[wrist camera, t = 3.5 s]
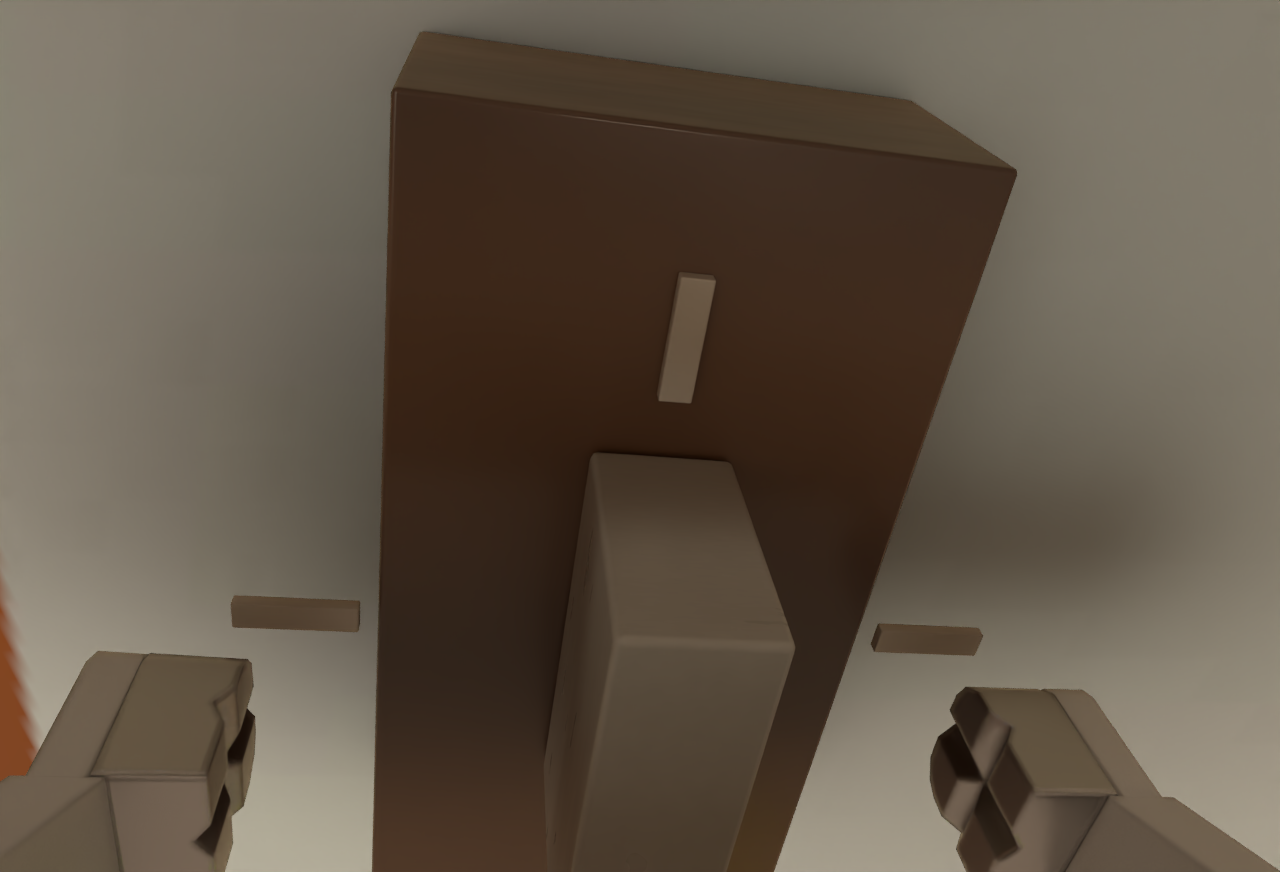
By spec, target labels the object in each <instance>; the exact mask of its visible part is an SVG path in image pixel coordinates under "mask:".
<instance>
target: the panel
mask: <svg viewBox="0 0 1280 872" xmlns="http://www.w3.org/2000/svg"><path fill="white" fill-rule="evenodd" d="M1016 176H1017V170H1016V169H1014V168H1013V167H1011V166H1010V165H1008V164H1007V163H1005V162H1004V161H1002V160H1001V159H999V158H998V157H996V156H995V155H993V154H992V153H990V152H989V151H987V150H986V149H984V148H982V147H981V146H979V145H978V144H976V143H975V142H973V141H972V140H970V139H969V138H967V137H966V136H964V135H963V134H961V133H960V132H958V131H957V130H955V129H954V128H952V127H951V126H949V125H947V124H946V123H944V122H943V121H941V120H940V119H938V118H937V117H935V116H934V115H932V114H931V113H929V112H928V111H926V110H925V109H923V108H922V107H920V106H919V105H917V104H916V103H914V102H912V101H908V100H901V99H894V98H887V97H880V96H873V95H866V94H859V93H852V92H845V91H838V90H831V89H824V88H817V87H810V86H803V85H796V84H789V83H782V82H775V81H768V80H761V79H754V78H747V77H740V76H733V75H726V74H719V73H711V72H704V71H697V70H690V69H683V68H676V67H669V66H662V65H655V64H648V63H641V62H634V61H627V60H620V59H613V58H606V57H599V56H592V55H585V54H578V53H571V52H564V51H557V50H550V49H543V48H536V47H529V46H522V45H515V44H508V43H501V42H494V41H486V40H479V39H472V38H465V37H458V36H451V35H444V34H437V33H430V32H420V33H419V35H418V37H417V39H416V41H415V43H414V45H413V47H412V49H411V51H410V54H409V56H408V58H407V60H406V62H405V64H404V66H403V68H402V70H401V72H400V74H399V76H398V78H397V81H396V83H395V85H394V87H393V89H392V91H391V113H390V154H389V195H388V236H387V277H386V318H385V358H384V399H383V440H382V481H381V522H380V563H379V604H378V645H377V686H376V726H375V767H374V808H373V849H372V872H547V845H546V815H545V785H544V761H545V755H546V748H547V741H548V735H549V728H550V721H551V715H552V708H553V701H554V695H555V688H556V681H557V675H558V668H559V661H560V655H561V648H562V641H563V635H564V628H565V621H566V615H567V608H568V602H569V595H570V588H571V582H572V575H573V568H574V562H575V555H576V548H577V542H578V535H579V528H580V522H581V515H582V508H583V502H584V495H585V488H586V482H587V475H588V468H589V462H590V458H591V457H592V455H593V453H597V452H603V453H617V454H631V455H644V456H658V457H672V458H686V459H700V460H714V461H726V462H728V463H730V464H732V467H733V469H734V472H735V475H736V478H737V481H738V484H739V487H740V489H741V492H742V495H743V498H744V501H745V504H746V507H747V509H748V512H749V515H750V518H751V521H752V524H753V527H754V529H755V532H756V535H757V538H758V541H759V544H760V547H761V549H762V552H763V555H764V558H765V561H766V564H767V567H768V569H769V572H770V575H771V578H772V581H773V584H774V587H775V589H776V592H777V595H778V598H779V601H780V604H781V607H782V609H783V612H784V615H785V618H786V621H787V624H788V627H789V629H790V632H791V635H792V638H793V641H794V644H795V652H794V656H793V659H792V662H791V665H790V668H789V672H788V675H787V678H786V681H785V684H784V688H783V691H782V694H781V697H780V701H779V704H778V707H777V710H776V713H775V717H774V720H773V723H772V726H771V730H770V733H769V736H768V739H767V742H766V746H765V749H764V752H763V755H762V759H761V762H760V765H759V768H758V771H757V775H756V778H755V781H754V784H753V788H752V791H751V794H750V797H749V800H748V804H747V807H746V810H745V813H744V817H743V820H742V823H741V826H740V829H739V833H738V836H737V839H736V842H735V846H734V849H733V852H732V855H731V858H730V862H729V865H728V868H727V871H726V872H774V870H775V867H776V864H777V861H778V858H779V856H780V853H781V850H782V847H783V844H784V841H785V838H786V836H787V833H788V830H789V827H790V824H791V821H792V818H793V815H794V813H795V810H796V807H797V804H798V801H799V798H800V795H801V793H802V790H803V787H804V784H805V781H806V778H807V775H808V772H809V770H810V767H811V764H812V761H813V758H814V755H815V752H816V750H817V747H818V744H819V741H820V738H821V735H822V732H823V730H824V727H825V724H826V721H827V718H828V715H829V712H830V709H831V707H832V704H833V701H834V698H835V695H836V692H837V689H838V687H839V684H840V681H841V678H842V675H843V672H844V669H845V666H846V664H847V661H848V658H849V655H850V652H851V649H852V646H853V644H854V641H855V638H856V635H857V632H858V629H859V626H860V623H861V621H862V618H863V615H864V612H865V609H866V606H867V603H868V601H869V598H870V595H871V592H872V589H873V586H874V583H875V580H876V578H877V575H878V572H879V569H880V566H881V563H882V560H883V558H884V555H885V552H886V549H887V546H888V543H889V540H890V537H891V535H892V532H893V529H894V526H895V523H896V520H897V517H898V515H899V512H900V509H901V506H902V503H903V500H904V497H905V494H906V492H907V489H908V486H909V483H910V480H911V477H912V474H913V472H914V469H915V466H916V463H917V460H918V457H919V454H920V451H921V449H922V446H923V443H924V440H925V437H926V434H927V431H928V429H929V426H930V423H931V420H932V417H933V414H934V411H935V408H936V406H937V403H938V400H939V397H940V394H941V391H942V388H943V386H944V383H945V380H946V377H947V374H948V371H949V368H950V365H951V363H952V360H953V357H954V354H955V351H956V348H957V345H958V343H959V340H960V337H961V334H962V331H963V328H964V325H965V322H966V320H967V317H968V314H969V311H970V308H971V305H972V302H973V300H974V297H975V294H976V291H977V288H978V285H979V282H980V279H981V277H982V274H983V271H984V268H985V265H986V262H987V259H988V257H989V254H990V251H991V248H992V245H993V242H994V239H995V236H996V234H997V231H998V228H999V225H1000V222H1001V219H1002V216H1003V214H1004V211H1005V208H1006V205H1007V202H1008V199H1009V196H1010V194H1011V191H1012V188H1013V185H1014V182H1015V179H1016ZM231 614H232V626H233V627H238V628H264V629H290V630H316V631H342V632H358V630H359V626H360V601H353V600H330V599H307V598H284V597H261V596H238V595H235V596H234V597H233V599H232V602H231ZM982 637H983V635H982V633H981V631H980V629H979V628H971V627H948V626H926V625H903V624H880V623H879V624H878V625H877V628H876V631H875V633H874V636H873V639H872V642H871V645H872V648H873V650H874V652H890V653H917V654H943V655H969V656H974V655H975V653H976V651H977V649H978V646H979V644H980V642H981V639H982Z"/></svg>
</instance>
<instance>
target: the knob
mask: <svg viewBox="0 0 1280 872" xmlns="http://www.w3.org/2000/svg"><path fill="white" fill-rule="evenodd" d="M794 652H795V644H794V641H793V638H792V635H791V632H790V629H789V627H788V624H787V621H786V618H785V615H784V612H783V609H782V607H781V604H780V601H779V598H778V595H777V592H776V589H775V587H774V584H773V581H772V578H771V575H770V572H769V569H768V567H767V564H766V561H765V558H764V555H763V552H762V549H761V547H760V544H759V541H758V538H757V535H756V532H755V529H754V527H753V524H752V521H751V518H750V515H749V512H748V509H747V507H746V504H745V501H744V498H743V495H742V492H741V489H740V487H739V484H738V481H737V478H736V475H735V472H734V469H733V467H732V464H730V463H728V462H726V461H714V460H700V459H686V458H672V457H658V456H644V455H631V454H617V453H603V452H597V453H593V455H592V457H591V458H590V462H589V468H588V475H587V482H586V488H585V495H584V502H583V508H582V515H581V522H580V528H579V535H578V542H577V548H576V555H575V562H574V568H573V575H572V582H571V588H570V595H569V602H568V608H567V615H566V621H565V628H564V635H563V641H562V648H561V655H560V661H559V668H558V675H557V681H556V688H555V695H554V701H553V708H552V715H551V721H550V728H549V735H548V741H547V748H546V755H545V761H544V785H545V815H546V845H547V872H726V871H727V868H728V865H729V862H730V858H731V855H732V852H733V849H734V846H735V842H736V839H737V836H738V833H739V829H740V826H741V823H742V820H743V817H744V813H745V810H746V807H747V804H748V800H749V797H750V794H751V791H752V788H753V784H754V781H755V778H756V775H757V771H758V768H759V765H760V762H761V759H762V755H763V752H764V749H765V746H766V742H767V739H768V736H769V733H770V730H771V726H772V723H773V720H774V717H775V713H776V710H777V707H778V704H779V701H780V697H781V694H782V691H783V688H784V684H785V681H786V678H787V675H788V672H789V668H790V665H791V662H792V659H793V656H794Z"/></svg>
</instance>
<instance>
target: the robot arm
mask: <svg viewBox="0 0 1280 872" xmlns="http://www.w3.org/2000/svg"><path fill="white" fill-rule="evenodd" d="M253 687H254V684H253V672H252V663H251V662H250V661H249V660H248V659H236V658H220V657H204V656H188V655H172V654H156V653H150V654H137V653H123V652H108V651H97V652H96V653H95V654H94V655H93V656H92V657H91V658H90V659H89V660H87V661H86V663H85V665H84V667H83V668H82V670H81V672H80V674H79V676H78V678H77V680H76V682H75V684H74V685H73V687H72V689H71V691H70V693H69V695H68V697H67V699H66V700H65V702H64V704H63V706H62V708H61V710H60V712H59V714H58V716H57V717H56V719H55V721H54V723H53V725H52V727H51V729H50V731H49V732H48V734H47V736H46V738H45V740H44V742H43V744H42V746H41V748H40V749H39V751H38V753H37V755H36V757H35V759H34V761H33V763H32V765H31V766H30V768H29V770H28V772H27V774H26V776H8V777H7V778H5V779H4V780H2V781H1V782H0V872H225V869H226V866H227V862H228V859H229V855H230V852H231V849H232V845H233V833H232V816H233V815H234V814H235V813H236V812H237V811H238V810H240V809H241V808H242V807H243V806H244V802H245V799H246V795H247V791H248V787H249V784H250V778H251V772H252V767H253V761H254V755H255V738H256V726H255V716H254V715H253V714H252V713H251V712H250V711H249V710H248V709H247V707H248V703H249V700H250V697H251V693H252V690H253ZM950 712H951V714H952V716H953V718H954V720H955V723H956V724H954V725H953V726H952V727H950V728H949V729H948V730H946V731H945V732H944V733H942V734H941V735H940V736H938V738H937V741H936V744H935V746H934V749H933V752H932V754H931V757H930V783H931V787H932V792H933V797H934V799H935V802H936V804H937V807H938V809H939V811H940V814H941V816H942V817H943V818H944V819H946V820H947V821H948V822H949V823H950V824H951V825H953V826H954V827H955V828H956V829H957V830H958V831H960V832H961V834H960V837H959V841H958V844H957V847H956V850H957V852H958V854H959V857H960V859H961V861H962V863H963V865H964V868H965V870H966V872H1280V871H1279V870H1278V869H1276V868H1275V867H1273V866H1272V865H1271V864H1269V863H1268V862H1266V861H1265V860H1263V859H1262V858H1260V857H1259V856H1258V855H1256V854H1255V853H1253V852H1252V851H1250V850H1249V849H1247V848H1246V847H1245V846H1243V845H1242V844H1240V843H1239V842H1237V841H1236V840H1234V839H1233V838H1231V837H1230V836H1229V835H1227V834H1226V833H1224V832H1223V831H1221V830H1220V829H1218V828H1217V827H1216V826H1214V825H1213V824H1211V823H1210V822H1208V821H1207V820H1205V819H1204V818H1203V817H1201V816H1200V815H1198V814H1197V813H1195V812H1194V811H1192V810H1191V809H1190V808H1188V807H1187V806H1185V805H1184V804H1182V803H1181V802H1179V801H1178V800H1176V799H1175V798H1174V797H1161V795H1160V794H1159V792H1158V791H1157V789H1156V788H1155V786H1154V785H1153V784H1152V782H1151V781H1150V779H1149V778H1148V776H1147V775H1146V773H1145V772H1144V771H1143V769H1142V768H1141V766H1140V765H1139V763H1138V762H1137V760H1136V759H1135V757H1134V756H1133V755H1132V753H1131V752H1130V750H1129V749H1128V747H1127V746H1126V744H1125V743H1124V742H1123V740H1122V739H1121V737H1120V736H1119V734H1118V733H1117V731H1116V730H1115V728H1114V727H1113V726H1112V724H1111V723H1110V721H1109V720H1108V718H1107V717H1106V715H1105V714H1104V713H1103V711H1102V710H1101V708H1100V707H1099V705H1098V704H1097V702H1096V701H1095V700H1094V698H1093V697H1092V696H1090V695H1089V694H1087V693H1086V692H1085V691H1083V690H1069V689H1042V690H1039V689H1024V688H990V687H965V688H964V689H963V690H962V691H960V692H959V693H958V694H957V695H956V697H955V700H954V702H953V704H952V706H951V708H950Z"/></svg>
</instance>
